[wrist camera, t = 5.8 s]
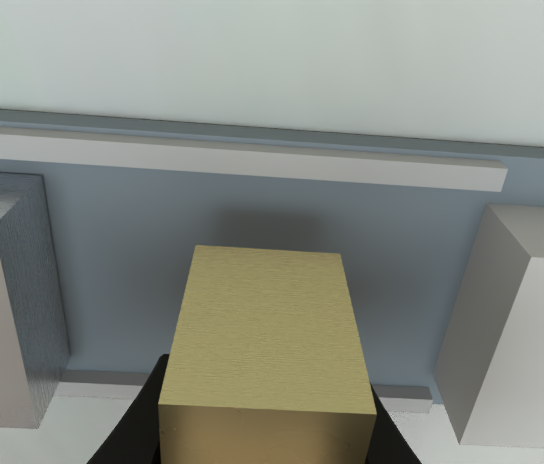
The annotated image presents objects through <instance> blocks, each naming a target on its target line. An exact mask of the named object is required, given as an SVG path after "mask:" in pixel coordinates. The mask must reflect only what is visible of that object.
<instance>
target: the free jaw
mask: <svg viewBox="0 0 544 464" xmlns="http://www.w3.org/2000/svg"><path fill="white" fill-rule="evenodd" d="M70 359H71V356H70V350H69V344H68V337H67V331H66V325H65V318H64V312H63V306H62V299H61V293H60V287H59V280H58V274H57V268H56V261H55V255H54V249H53V242H52V236H51V230H50V223H49V217H48V211H47V205H46V198H45V192H44V186H43V179H42V176H40V175H25V174H9V173H0V427H7V428H30V429H38V427H39V425H40V423H41V421H42V419H43V417H44V415H45V412H46V410H47V408H48V406H49V404H50V402H51V400H52V398H53V395H54V393H55V391H56V389H57V387H58V385H59V383H60V380H61V378H62V376H63V374H64V372H65V370H66V368H67V366H68V363H69V361H70Z"/></svg>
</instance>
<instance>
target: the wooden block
mask: <svg viewBox="0 0 544 464" xmlns="http://www.w3.org/2000/svg"><path fill="white" fill-rule="evenodd" d="M158 412H159V432H160V452H161V464H364V463H365V459H366V455H367V451H368V447H369V444H370V440H371V436H372V432H373V428H374V424H375V420H376V416H377V413H376V408H375V404H374V399H373V395H372V391H371V386H370V382H369V378H368V373H367V369H366V364H365V360H364V356H363V351H362V347H361V343H360V338H359V334H358V329H357V325H356V321H355V316H354V312H353V308H352V303H351V299H350V294H349V290H348V286H347V281H346V277H345V273H344V268H343V264H342V259H341V255H340V254H337V253H321V252H304V251H288V250H271V249H255V248H238V247H222V246H205V245H196V246H195V250H194V255H193V259H192V263H191V267H190V271H189V276H188V280H187V284H186V288H185V293H184V297H183V301H182V305H181V309H180V314H179V318H178V322H177V326H176V331H175V335H174V339H173V343H172V347H171V352H170V356H169V360H168V364H167V369H166V373H165V377H164V381H163V385H162V390H161V394H160V398H159V402H158Z"/></svg>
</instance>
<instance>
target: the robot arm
mask: <svg viewBox="0 0 544 464" xmlns="http://www.w3.org/2000/svg"><path fill="white" fill-rule="evenodd" d="M169 356H170V354H163V355H162V356H160V357H159V359H158V361H157V363H156V365H155V367H154V369H153V370H152V372H151V374H150V376H149V377H148V379H147V381H146V383H145V384H144V386H143V387H142V389H141V391H140V392H139V394H138V395H137V397H136V398H135V400H134V401H133V403H132V404H131V406H130V407H129V409H128V410H127V411H126V413H125V414H124V416H123V417H122V419H121V420H120V422H119V423H118V424H117V426H116V427H115V428H114V430H113V431H112V432H111V434H110V435H109V436H108V437H107V439H106V440H105V441H104V443H103V444H102V445H101V446H100V448H99V449H98V450H97V452H96V453H95V454H94V455H93V457H92V458H91V459H90V460H89V461H88V462H87V464H161V452H160V432H159V412H158V402H159V398H160V394H161V390H162V385H163V381H164V377H165V373H166V369H167V364H168V360H169ZM369 382H370V381H369ZM370 386H371V391H372V395H373V399H374V404H375V408H376V413H377V416H376V420H375V424H374V428H373V432H372V436H371V440H370V444H369V447H368V451H367V455H366V459H365V463H364V464H422V463H421V462H420V461H419V459H418V458H417V456H416V455H415V454H414V452H413V451H412V449H411V448H410V446H409V445H408V444H407V442H406V441H405V439H404V438H403V436H402V434H401V433H400V431H399V430H398V428H397V427H396V425H395V424H394V422H393V421H392V419H391V417H390V416H389V414H388V413H387V411H386V409H385V408H384V406H383V404H382V402H381V401H380V399H379V397H378V396H377V394H376V392H375V390H374V389H373V387H372V385H371V383H370Z"/></svg>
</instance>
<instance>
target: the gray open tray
mask: <svg viewBox="0 0 544 464" xmlns="http://www.w3.org/2000/svg"><path fill="white" fill-rule="evenodd" d="M0 173H9V174H25V175H40V176H42V179H43V186H44V192H45V198H46V205H47V211H48V217H49V223H50V230H51V236H52V242H53V249H54V255H55V261H56V268H57V274H58V280H59V287H60V293H61V299H62V306H63V312H64V318H65V325H66V331H67V337H68V344H69V350H70V356H71V359H70V361H69V363H68V366H67V368H66V370H65V372H64V374H63V376H62V378H61V380H60V383H59V385H58V387H57V389H56V391H55V393H54V395H53V396H69V397H91V398H112V399H133V400H135V398H136V397H137V395H138V394H139V392H140V391H141V389H142V387H143V386H144V384H145V383H146V381H147V379H148V377H149V376H150V374H151V372H152V370H153V369H154V367H155V365H156V363H157V361H158V359H159V357H160V356H162V355H163V354H170V352H171V347H172V343H173V339H174V335H175V331H176V326H177V322H178V318H179V314H180V309H181V305H182V301H183V297H184V293H185V288H186V284H187V280H188V276H189V271H190V267H191V263H192V259H193V255H194V250H195V246H196V245H205V246H222V247H238V248H255V249H271V250H288V251H304V252H321V253H337V254H340V255H341V259H342V264H343V268H344V273H345V277H346V281H347V286H348V290H349V294H350V299H351V303H352V308H353V312H354V316H355V321H356V325H357V329H358V334H359V338H360V343H361V347H362V351H363V356H364V360H365V364H366V369H367V373H368V378H369V381H370V383H371V385H372V387H373V389H374V390H375V392H376V394H377V396H378V397H379V399H380V401H381V402H382V404H383V406H384V408H385V409H386V411H390V412H411V413H429V411H430V408H431V405H432V404H444V406H445V408H446V411H447V414H448V416H449V419H450V422H451V424H452V427H453V430H454V432H455V435H456V437H457V440H458V443H459V445H477V446H499V447H522V448H544V148H542V147H528V146H514V145H499V144H485V143H471V142H457V141H443V140H428V139H414V138H400V137H386V136H372V135H357V134H343V133H329V132H315V131H301V130H286V129H272V128H258V127H244V126H230V125H215V124H201V123H187V122H173V121H158V120H144V119H130V118H116V117H102V116H87V115H73V114H59V113H45V112H31V111H16V110H2V109H0Z"/></svg>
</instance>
